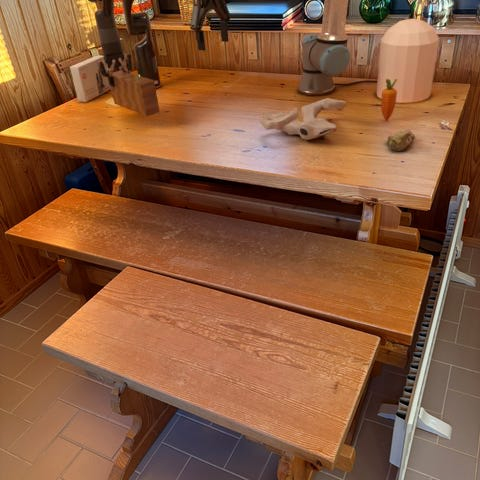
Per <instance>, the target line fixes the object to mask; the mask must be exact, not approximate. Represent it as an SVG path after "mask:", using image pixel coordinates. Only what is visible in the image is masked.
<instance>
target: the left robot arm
mask: <svg viewBox="0 0 480 480" xmlns="http://www.w3.org/2000/svg"><path fill="white" fill-rule="evenodd" d="M87 1H88V2H89V3H92V4H93V3H94V4H95V3H102V6H101V9H98V10H96V11H95V12H94V20H95V23H96V27H97V33H98V38H99V43H100V47H101V51H102V56H104V59H103V60H101V61H97V64H98V66H99V69H100V71H101V74H102V76H105V77H108V81H109V85H111V86H112V87H115V85H114V80H113V77H112V73H113V72H115V71H114V70H115V69H116V68H120V69H121V71H123V72H127V73H130V71H132V70H133V62H132V55H131V54H130V53H125V54H124V53H123V48H122V41H121V38H120V37H121V36H120V33H119V30H118V26H117V22H116V18H115V17H116V16H115V0H87ZM134 2H135V0H121V4H122V9H123V10H122V11H123V15H124V21H125V27H126V29H127V33H128V35H129V36H131V37H135V36H144V37H143V38H142V39H141V40H140V41H138V42H136V43H135V44H134V45H133V50H134V54H135V59H136V64H137V67H136V71H137V72H136V73H137V76H141V77H144V78H148V79H151V80H154V84H155V89H156V90H157V89H159V88H161V87H162V84H161V78H160V73H159V72H160V71H159V67H158V66H159V65H158V62H157V61H158V60H157V55H156V50H155V45H154V39H153V34H152V25H151V18H150V16H149V13H148V12H147V11H140V12H133V13H132V11H133V6H134ZM124 60H125V62H124ZM105 63H106V64H107V72H106V70H105V67H104V66H105Z"/></svg>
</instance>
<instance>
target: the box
mask: <svg viewBox="0 0 480 480" xmlns="http://www.w3.org/2000/svg"><path fill="white" fill-rule="evenodd" d="M112 77H113V80H114V85H115V87H112V86H111V85H110V87H111V89H110V90H111V95H112V100H113V103H114V105H117V106H118V107H121V108H124V109H126V110H129V111H132V112H134V113H137V114H139V115H142V116H143V117H150V116H153V115H156V114H158V113H160V112H161V110H160V106H159V100H158V95H157V89H155V84H154V80H151V79H148V78H144V77H141V76H138V74H135V73H130V72H128V73H127V72H123V70H118V71H113V73H112Z"/></svg>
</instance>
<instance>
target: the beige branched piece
mask: <svg viewBox="0 0 480 480" xmlns="http://www.w3.org/2000/svg"><path fill="white" fill-rule="evenodd" d="M346 107H347V102H346V101H345V100H341V99H334V98H329V97H327V98H324V99H321V100H317V101H314V102H312V103H311V102H310V103H309V104H306V105H303V106H302V107H301V109H300V110H301V111H300V112H301V117H302V121H299V120H297V119H298V118H299V108H298V107H297V106H296V107H293V108H291V111H290V112H289V113H288V114H286V113H284V112H277V113H273V114H267V115H262V116H260V117H259V122H260V124H261V126H262V127H263V128H265V129H266V130H267V131H269V130H276V131H283V132H285V133H286V134H288V135H289V136H291V135H299V137H300V138H301V139H303V140H305V141H310V140H315V139H318V138H321V137H324V136H326V135H328V134H331V133H333V132H335V131H336V130H337V128H338V127H337V125H336V123H334V122H329V120H327V119H325V118H323V117H318V115H319V113H320V112H321V111H333V110H338V111H341V112H342V111H344V109H345V108H346Z"/></svg>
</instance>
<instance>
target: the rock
mask: <svg viewBox="0 0 480 480" xmlns="http://www.w3.org/2000/svg"><path fill="white" fill-rule="evenodd" d="M415 139H416V135H415V134H414V132H412V131H411V130H408V129H407V130H404V131H398V132H396V133H394V134H393V135H392V134H391V135H389V136H388V137H387V143H388V145H387V146H388V147H389V149H391V150H392V151H395V152H404V151H406V150H407V148H409V145H410V144H411V143H412V142H413V141H414V140H415Z"/></svg>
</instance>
